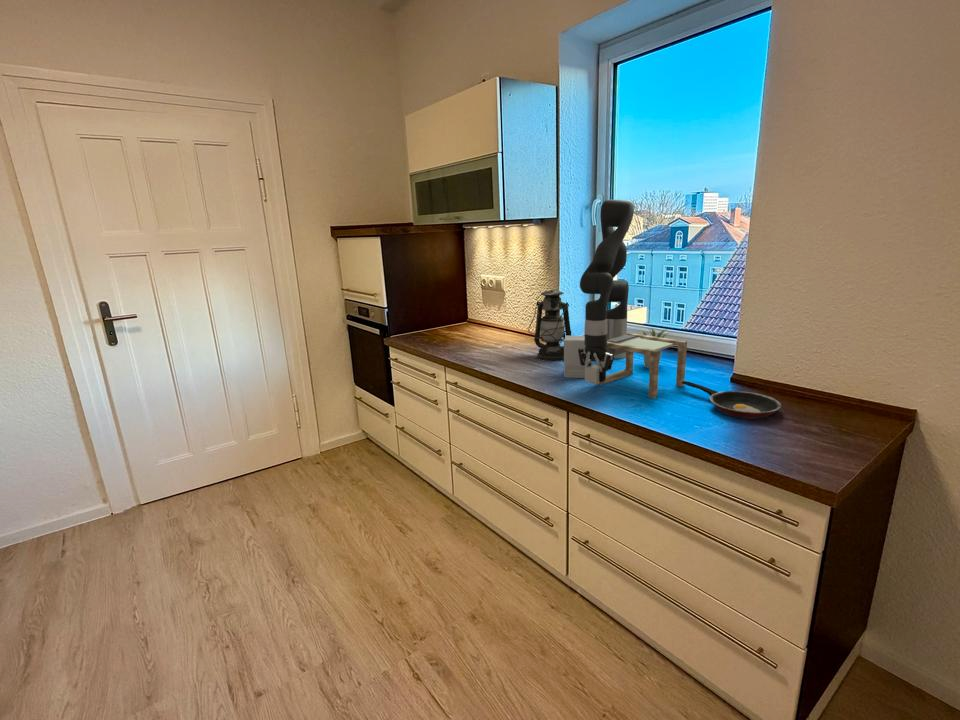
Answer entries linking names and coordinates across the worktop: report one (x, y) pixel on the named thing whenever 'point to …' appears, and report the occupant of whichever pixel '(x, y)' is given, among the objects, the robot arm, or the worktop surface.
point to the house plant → (647, 357)
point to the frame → (653, 361)
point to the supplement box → (573, 357)
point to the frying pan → (741, 402)
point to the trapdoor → (636, 343)
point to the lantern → (551, 326)
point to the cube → (592, 374)
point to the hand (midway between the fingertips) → (595, 379)
